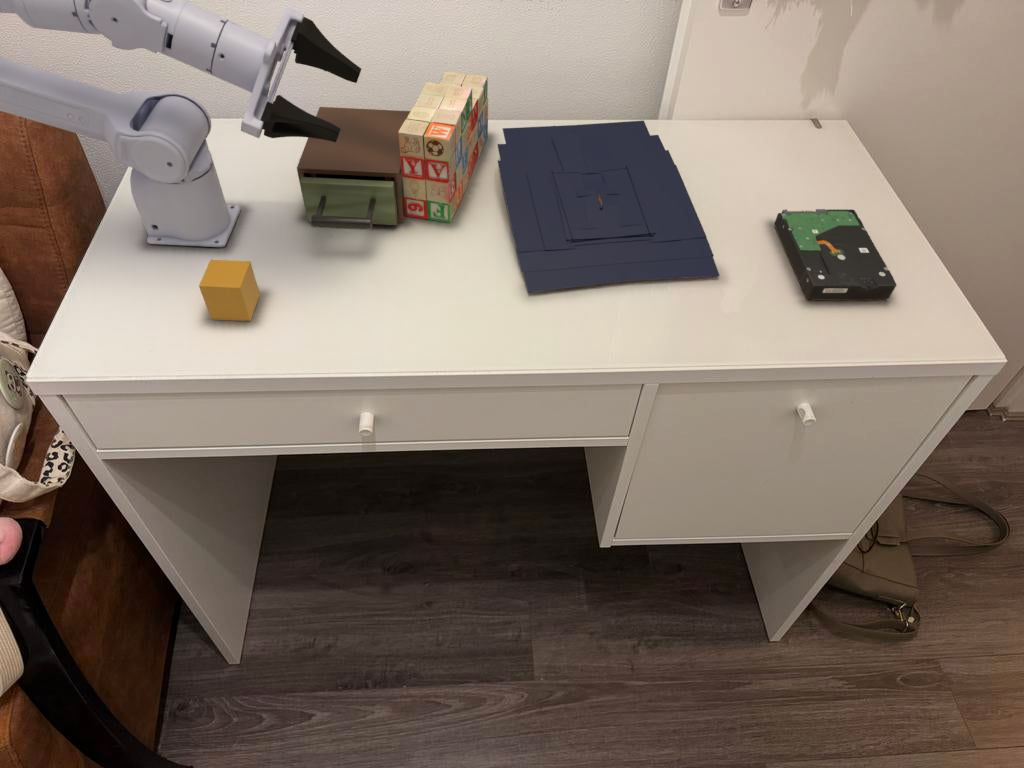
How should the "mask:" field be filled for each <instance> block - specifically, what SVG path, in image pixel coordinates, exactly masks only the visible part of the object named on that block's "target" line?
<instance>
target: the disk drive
mask: <svg viewBox="0 0 1024 768" xmlns="http://www.w3.org/2000/svg"><path fill="white" fill-rule="evenodd" d="M774 226H775V230H776V232H777V235H778V237H779V239H780V242H781V244H782V247H783V249H784V251H785V253H786V255H787V257H788V260H789V261H790V264H791V266H792V269H793V271H794V273H795V275H796V277H797V280H798V282H799V285H800V286H801V289H802V291H803V293H804V295H805V296H806V299H807V300H820V301H838V300H839V301H841V300H842V301H854V300H855V301H856V300H858V301H860V300H861V301H862V300H864V301H865V300H869V301H870V300H872V301H873V300H875V301H877V300H889V299H890V298H891V296H892V294H893V292H894V291H895V289H896V287H897V283H896V281H895V279H894V276H893V274H892V273H891V271H890V270H889V268H888V266H887V264H886V262H885V261H884V259H883V257H882V256H881V254H880V252H879V251H878V249H877V247H876V245H875V243H874V242H873V240H872V238H871V236H870V234H869V233H868V231H867V230H866V228H865V226H864V224H863V222H862V220H861V218H860V217H859V215H858V213H857V212H856V210H855V209H852V208H851V209H848V208H847V209H845V208H844V209H841V208H840V209H839V208H838V209H831V208H829V209H825V208H816V209H815V210H788V209H782V210H781V212H778V213H777V215H776V218H775V221H774Z"/></svg>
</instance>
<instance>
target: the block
mask: <svg viewBox="0 0 1024 768" xmlns="http://www.w3.org/2000/svg"><path fill="white" fill-rule="evenodd" d="M257 282H258V281H257V279H256V277H255V273H254V269H253V266H252V262H251V260H229V259H210V260H209V263H208V265H207V267H206V269H205V270H204V273H203V275H202V279H201V281H200V282H199V285H198V288H199V290H200V293H201V295H202V298H203V301H204V304H205V306H206V309H207V312H208V314H209V317H210V319H211V320H216V321H217V320H218V321H236V322H237V321H238V322H239V321H241V322H251V321H252V318H253V315H254V312H255V310H256V307H257V304H258V301H259V299H260V296H261V293H260V290H259V286H258V283H257Z"/></svg>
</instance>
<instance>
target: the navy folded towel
mask: <svg viewBox="0 0 1024 768" xmlns="http://www.w3.org/2000/svg"><path fill="white" fill-rule="evenodd" d="M502 133H503V137H504V142H505V143H498V144H497V150H498V154H499V160H497V165H498V170H499V171H498V172H499V175H500V181H501V186H502V190H503V195H504V199H505V204H506V207H507V213H508V218H509V221H510V225H511V231H512V235H513V239H514V244H515V248H516V254H517V258H518V262H519V266H520V271H521V273H523V278H524V282H525V285H526V288H527V289H526V290H527V293H529V294H531V293H539V292H546V291H554V290H562V289H572V288H580V287H586V286H596V285H603V284H612V283H621V282H631V281H633V282H635V281H654V280H670V279H671V280H672V279H674V280H675V279H689V278H693V279H694V278H708V277H709V278H710V277H721V275H720V272H719V270H718V267H717V264H716V261H715V259H714V257H715V255H714V253H713V251H712V248H711V246H710V242H709V240H708V238H707V234H706V232H705V230H704V227H703V225H702V223H701V220H700V218H699V215H698V213H697V210H696V209H695V206H694V204H693V201H692V199H691V196H690V194H689V192H688V190H687V187H686V185H685V183H684V180H683V178H682V175H681V174H680V173H681V172H680V171H679V168H678V166H677V164H675V162H674V159H673V157H672V155H671V153H670V150H669V149H666V148H665V146H664V144H663V142H662V139H661V138H660V136H659V134H652V135H651V134H650V132H649V129H648V127H647V124H646V122H645V120H631V121H615V122H600V123H585V124H568V125H548V126H547V125H545V126H543V125H542V126H526V127H525V126H523V127H503V128H502Z"/></svg>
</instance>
